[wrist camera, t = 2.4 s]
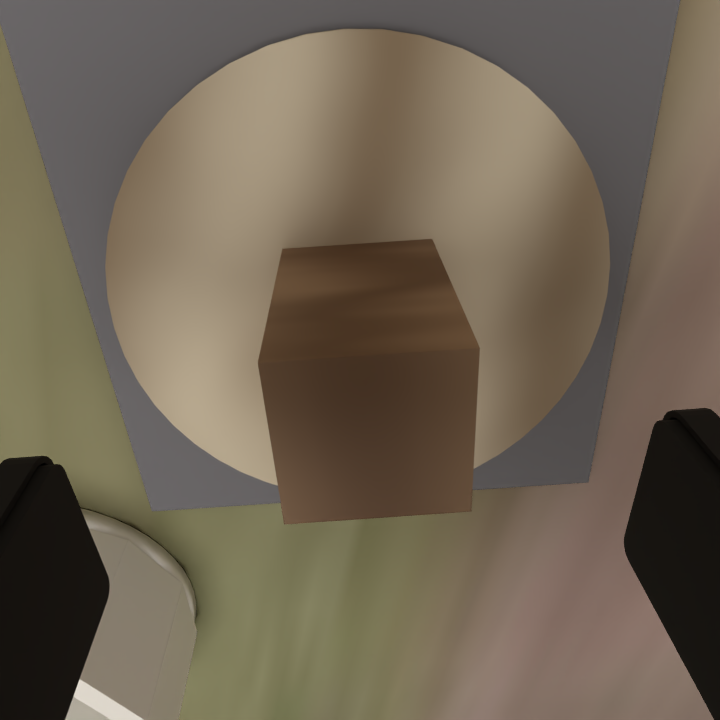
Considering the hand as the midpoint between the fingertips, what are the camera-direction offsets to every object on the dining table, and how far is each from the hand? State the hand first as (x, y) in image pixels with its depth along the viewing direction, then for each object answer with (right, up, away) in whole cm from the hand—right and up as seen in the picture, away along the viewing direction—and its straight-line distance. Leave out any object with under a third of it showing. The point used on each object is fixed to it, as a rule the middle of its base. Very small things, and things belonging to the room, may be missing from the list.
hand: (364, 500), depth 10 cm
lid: (0, +4, +8) cm, 9 cm away
